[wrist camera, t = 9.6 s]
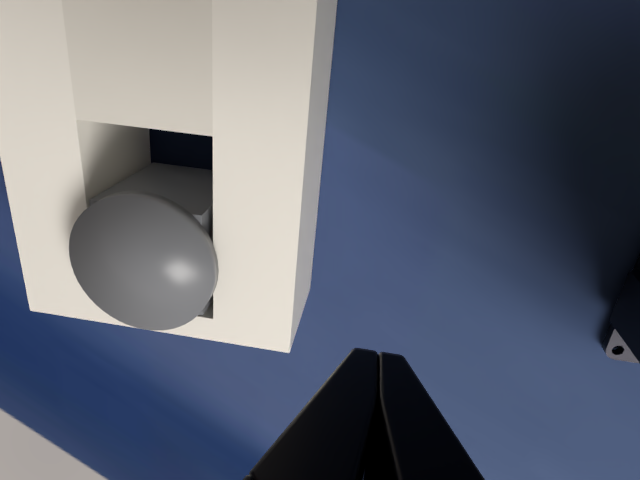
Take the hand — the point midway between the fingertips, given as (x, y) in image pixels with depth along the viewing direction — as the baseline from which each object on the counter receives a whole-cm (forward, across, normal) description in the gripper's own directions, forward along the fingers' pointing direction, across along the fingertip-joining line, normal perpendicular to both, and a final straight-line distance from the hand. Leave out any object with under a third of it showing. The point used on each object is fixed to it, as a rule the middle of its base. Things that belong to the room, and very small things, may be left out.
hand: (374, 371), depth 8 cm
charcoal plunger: (+13, +8, +3) cm, 15 cm away
